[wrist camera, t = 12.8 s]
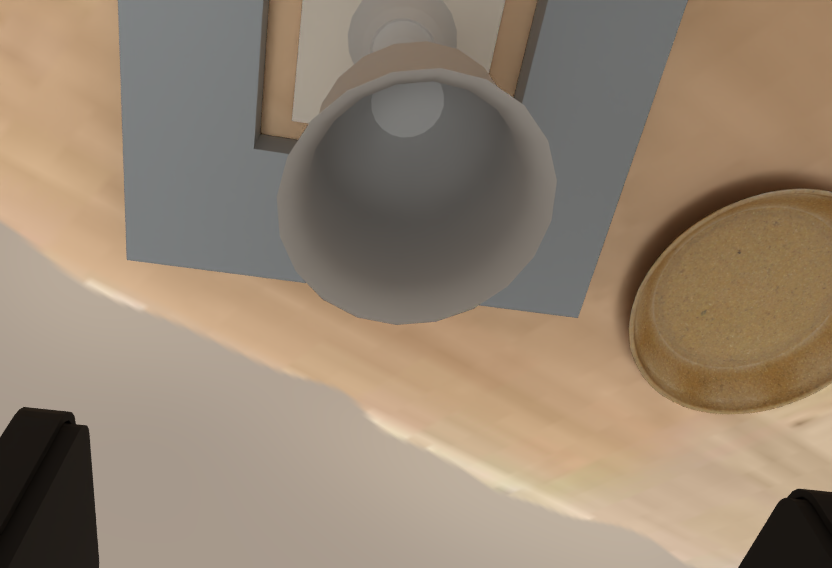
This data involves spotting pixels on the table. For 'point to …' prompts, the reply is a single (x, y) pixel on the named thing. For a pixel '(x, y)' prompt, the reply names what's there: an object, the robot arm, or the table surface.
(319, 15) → the felt pad
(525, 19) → the table surface
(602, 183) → the grey rectangular frame
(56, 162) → the table surface
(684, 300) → the plant saucer
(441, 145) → the chalice
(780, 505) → the robot arm
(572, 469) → the table surface
